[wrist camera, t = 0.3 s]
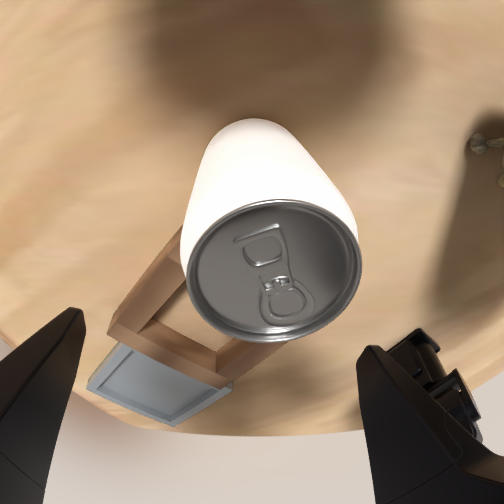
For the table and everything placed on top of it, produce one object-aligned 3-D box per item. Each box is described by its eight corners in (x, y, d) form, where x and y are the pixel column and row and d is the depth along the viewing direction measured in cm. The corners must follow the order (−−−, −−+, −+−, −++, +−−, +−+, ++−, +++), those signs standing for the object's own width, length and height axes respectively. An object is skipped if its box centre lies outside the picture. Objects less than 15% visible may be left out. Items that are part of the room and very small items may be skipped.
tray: (232, 378, 32) (232, 390, 31) (174, 417, 36) (173, 426, 35) (130, 327, 27) (126, 339, 26) (88, 378, 32) (85, 388, 30)
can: (225, 224, 22) (222, 367, 12) (186, 139, 19) (133, 234, 9) (314, 193, 21) (382, 318, 11) (285, 102, 18) (355, 153, 8)
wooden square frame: (308, 300, 26) (314, 321, 24) (220, 369, 31) (220, 389, 29) (188, 217, 22) (184, 235, 20) (113, 313, 26) (106, 334, 24)
